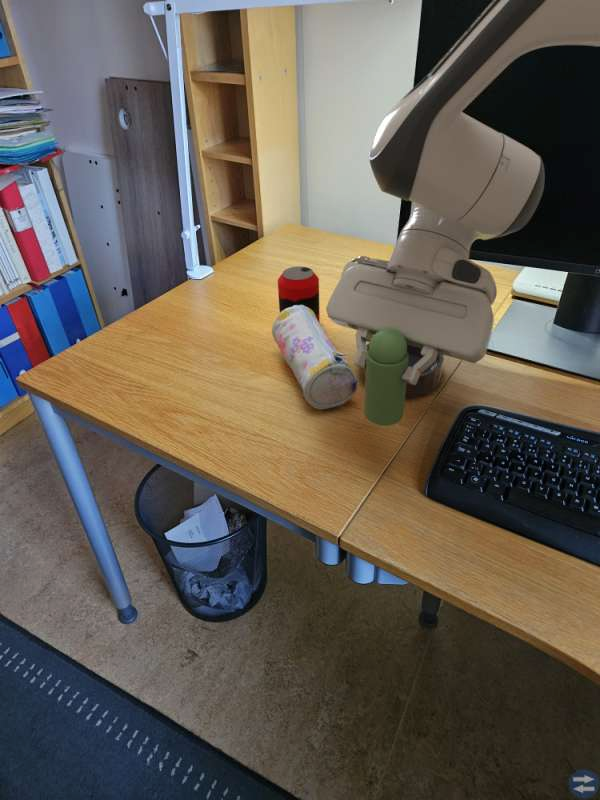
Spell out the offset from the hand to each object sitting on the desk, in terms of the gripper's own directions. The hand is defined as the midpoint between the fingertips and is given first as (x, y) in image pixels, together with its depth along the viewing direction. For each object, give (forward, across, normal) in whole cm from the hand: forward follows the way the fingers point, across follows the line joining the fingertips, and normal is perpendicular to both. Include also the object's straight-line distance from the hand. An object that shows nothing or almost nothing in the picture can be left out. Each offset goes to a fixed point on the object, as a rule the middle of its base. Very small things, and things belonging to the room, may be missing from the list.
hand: (384, 375), depth 67 cm
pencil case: (+1, -20, +22) cm, 30 cm away
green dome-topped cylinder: (+4, 0, +5) cm, 6 cm away
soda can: (-7, -30, +30) cm, 44 cm away
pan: (-5, -7, +28) cm, 29 cm away
